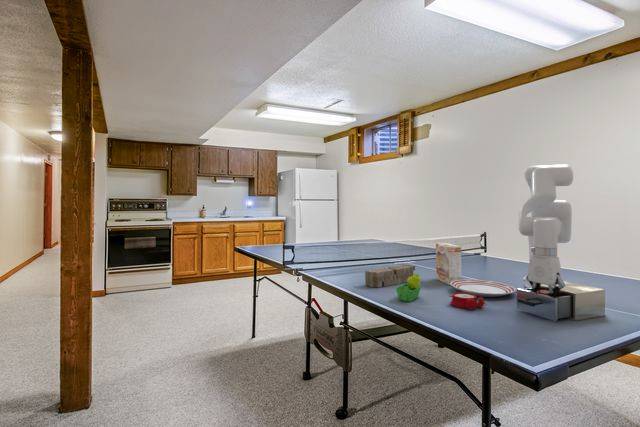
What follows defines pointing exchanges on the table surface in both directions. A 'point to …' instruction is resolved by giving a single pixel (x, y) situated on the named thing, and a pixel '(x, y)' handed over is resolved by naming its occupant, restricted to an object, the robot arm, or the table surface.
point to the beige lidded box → (584, 300)
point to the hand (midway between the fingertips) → (544, 301)
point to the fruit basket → (409, 289)
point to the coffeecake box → (448, 262)
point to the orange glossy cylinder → (543, 292)
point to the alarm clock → (467, 300)
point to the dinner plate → (482, 288)
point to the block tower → (388, 275)
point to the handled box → (545, 304)
